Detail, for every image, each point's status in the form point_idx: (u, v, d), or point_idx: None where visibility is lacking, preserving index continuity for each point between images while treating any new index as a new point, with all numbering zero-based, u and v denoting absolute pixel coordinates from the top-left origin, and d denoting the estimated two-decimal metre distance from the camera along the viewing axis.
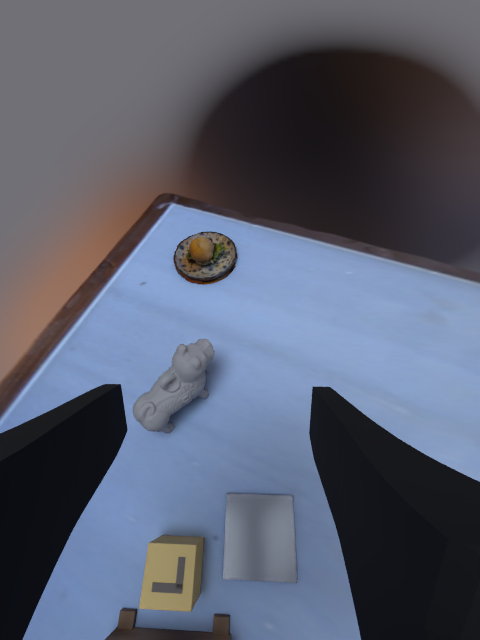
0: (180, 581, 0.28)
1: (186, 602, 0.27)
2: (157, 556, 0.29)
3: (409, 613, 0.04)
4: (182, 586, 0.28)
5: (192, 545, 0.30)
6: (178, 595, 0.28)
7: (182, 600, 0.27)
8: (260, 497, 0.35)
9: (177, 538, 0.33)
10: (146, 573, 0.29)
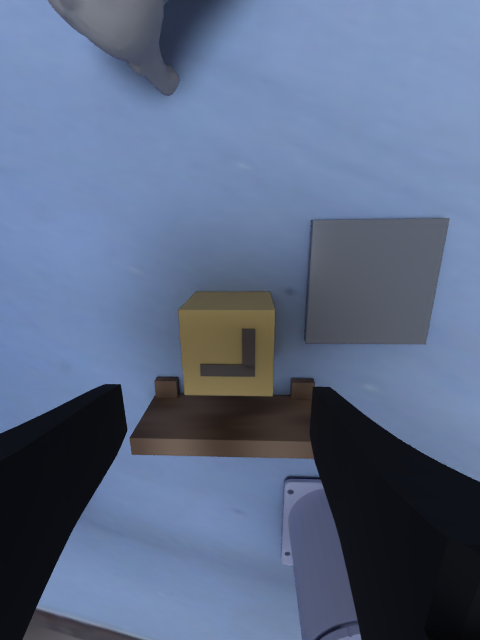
0: (251, 361, 0.15)
1: (264, 386, 0.16)
2: (199, 330, 0.15)
3: (409, 613, 0.04)
4: (254, 367, 0.16)
5: (266, 310, 0.15)
6: (248, 378, 0.16)
7: (257, 384, 0.16)
8: (382, 224, 0.17)
9: (226, 296, 0.18)
10: (185, 353, 0.16)
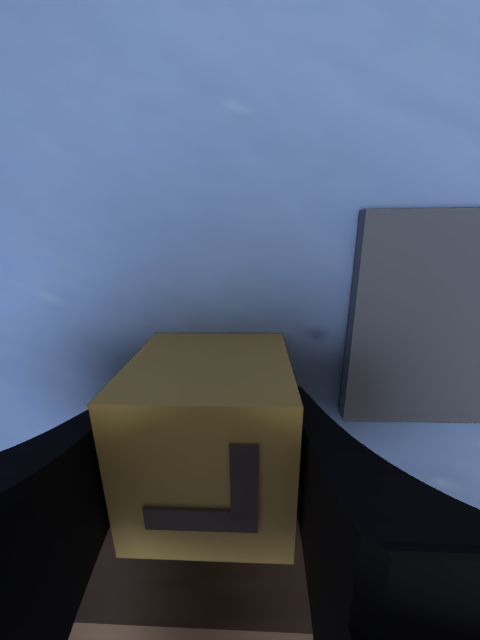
0: (249, 506, 0.07)
1: (276, 547, 0.08)
2: (138, 444, 0.07)
3: (339, 610, 0.04)
4: (255, 517, 0.07)
5: (284, 407, 0.07)
6: (243, 534, 0.08)
7: (262, 544, 0.08)
8: None
9: (204, 350, 0.10)
10: (111, 486, 0.07)
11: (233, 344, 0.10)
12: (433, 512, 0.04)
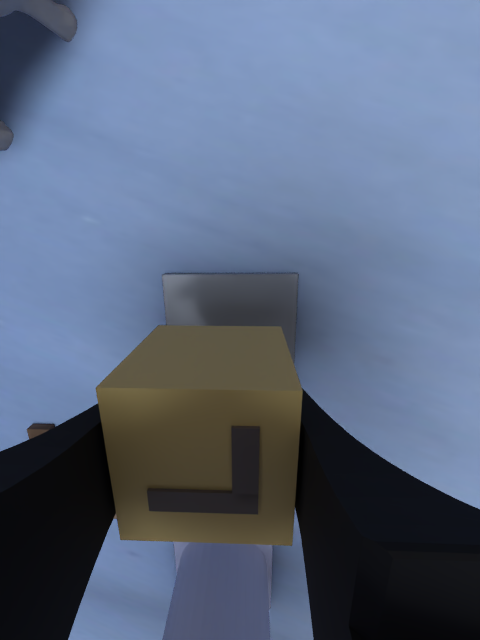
0: (250, 488, 0.08)
1: (275, 529, 0.08)
2: (143, 427, 0.07)
3: (340, 610, 0.04)
4: (256, 499, 0.08)
5: (284, 391, 0.07)
6: (244, 515, 0.08)
7: (262, 525, 0.08)
8: (231, 279, 0.17)
9: (206, 341, 0.10)
10: (117, 468, 0.08)
11: (234, 335, 0.11)
12: (434, 512, 0.04)
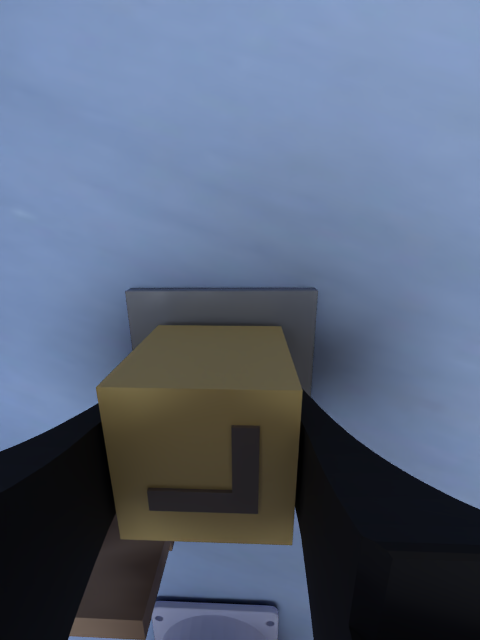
0: (250, 488, 0.08)
1: (275, 528, 0.08)
2: (144, 426, 0.07)
3: (340, 610, 0.04)
4: (256, 498, 0.08)
5: (284, 390, 0.07)
6: (244, 515, 0.08)
7: (262, 525, 0.08)
8: (223, 298, 0.12)
9: (206, 340, 0.10)
10: (117, 468, 0.08)
11: (234, 335, 0.11)
12: (434, 512, 0.04)
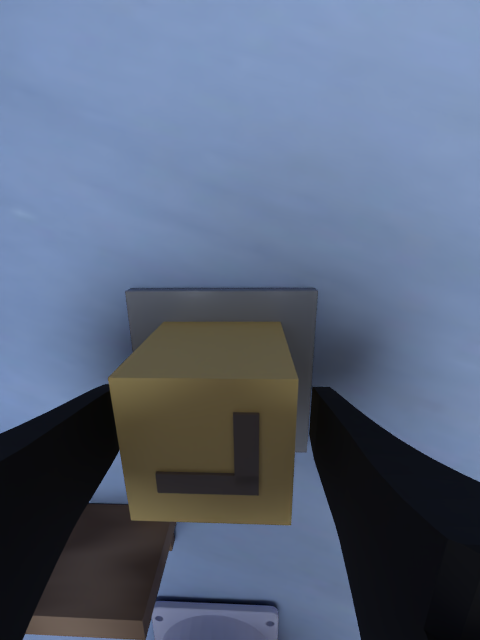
0: (251, 470, 0.08)
1: (275, 509, 0.09)
2: (152, 413, 0.08)
3: (409, 613, 0.04)
4: (257, 480, 0.08)
5: (282, 379, 0.07)
6: (246, 497, 0.09)
7: (263, 506, 0.09)
8: (223, 298, 0.12)
9: (209, 335, 0.11)
10: (128, 453, 0.08)
11: (235, 330, 0.11)
12: None
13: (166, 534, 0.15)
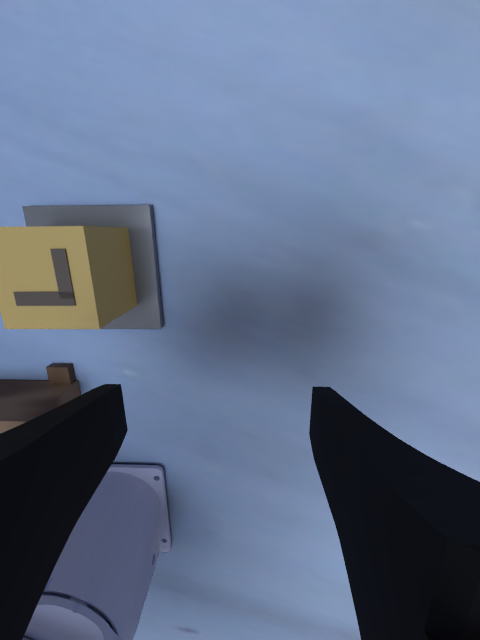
0: (67, 287, 0.14)
1: (88, 317, 0.14)
2: (6, 251, 0.14)
3: (409, 613, 0.04)
4: (72, 294, 0.14)
5: (75, 227, 0.13)
6: (69, 308, 0.14)
7: (80, 315, 0.14)
8: (87, 210, 0.18)
9: None
10: None
11: None
12: None
13: (65, 391, 0.21)
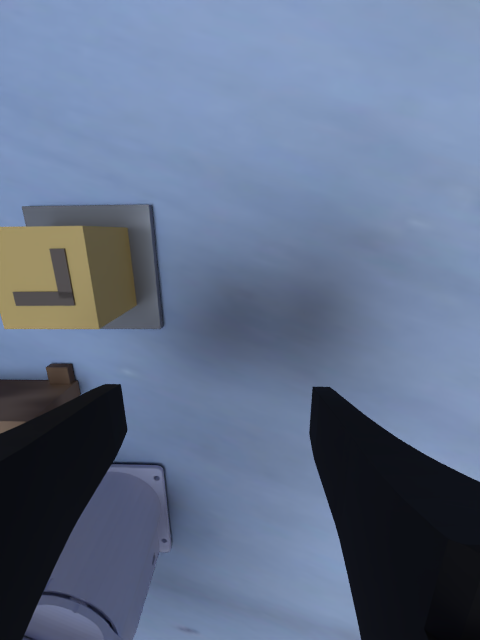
0: (66, 287, 0.14)
1: (87, 317, 0.14)
2: (5, 251, 0.14)
3: (409, 613, 0.04)
4: (71, 294, 0.14)
5: (74, 227, 0.13)
6: (69, 308, 0.14)
7: (79, 315, 0.14)
8: (87, 210, 0.18)
9: None
10: None
11: None
12: None
13: (64, 391, 0.21)
